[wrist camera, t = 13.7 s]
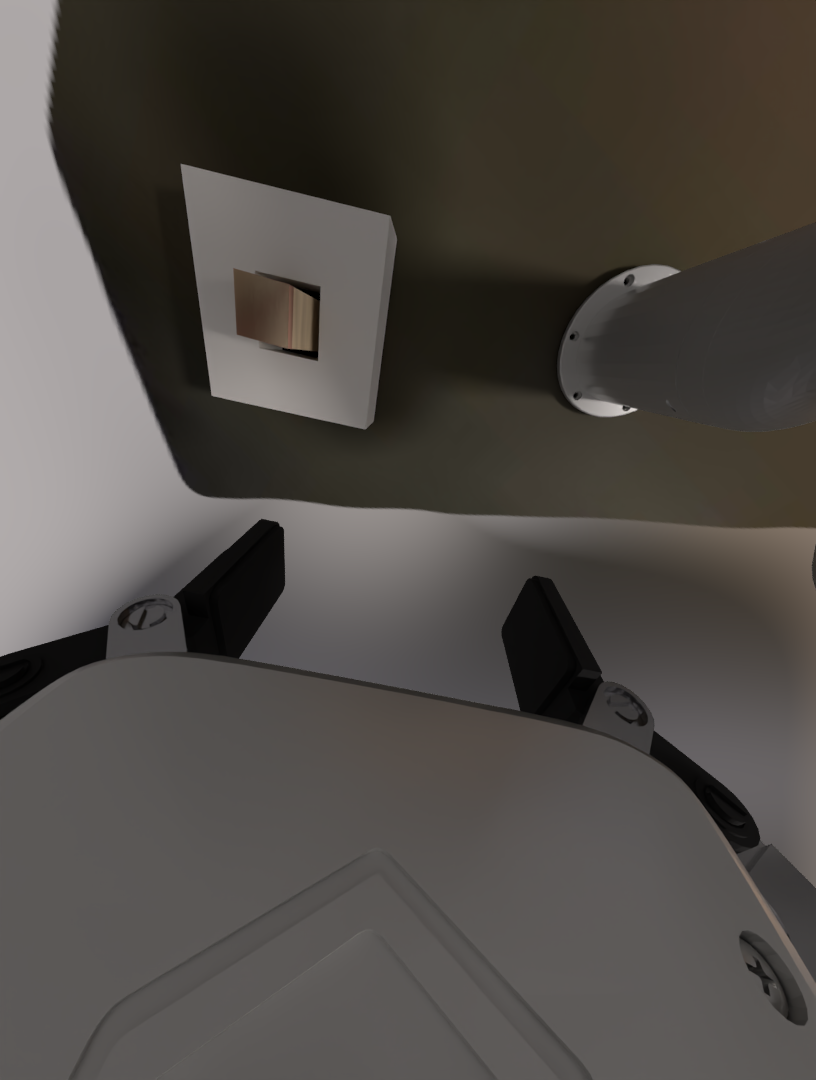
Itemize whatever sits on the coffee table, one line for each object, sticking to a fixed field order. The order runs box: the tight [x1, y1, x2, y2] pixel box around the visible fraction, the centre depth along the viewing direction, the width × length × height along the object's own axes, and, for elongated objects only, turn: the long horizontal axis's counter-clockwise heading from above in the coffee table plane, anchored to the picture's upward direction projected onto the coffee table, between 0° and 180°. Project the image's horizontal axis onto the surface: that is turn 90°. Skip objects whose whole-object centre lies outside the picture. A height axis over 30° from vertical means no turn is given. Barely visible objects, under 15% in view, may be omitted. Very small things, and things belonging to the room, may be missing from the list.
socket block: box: [181, 164, 397, 430], centre depth 29 cm, size 16×16×5 cm
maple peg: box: [233, 268, 320, 351], centre depth 27 cm, size 4×4×10 cm
